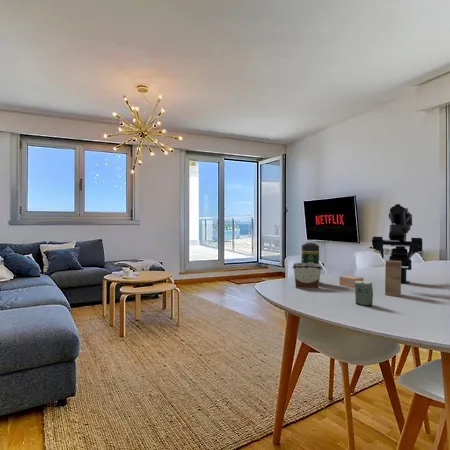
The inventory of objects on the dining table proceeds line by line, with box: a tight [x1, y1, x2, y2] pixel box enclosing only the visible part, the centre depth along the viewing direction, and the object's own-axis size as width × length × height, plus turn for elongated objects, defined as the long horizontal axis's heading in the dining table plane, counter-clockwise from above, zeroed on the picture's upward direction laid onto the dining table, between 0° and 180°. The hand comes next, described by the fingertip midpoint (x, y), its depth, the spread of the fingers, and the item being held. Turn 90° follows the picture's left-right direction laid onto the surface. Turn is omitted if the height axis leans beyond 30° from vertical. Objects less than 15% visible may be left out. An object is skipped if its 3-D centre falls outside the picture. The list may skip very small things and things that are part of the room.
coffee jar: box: [300, 242, 320, 264], centre depth 152 cm, size 10×8×19 cm
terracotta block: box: [339, 275, 365, 289], centre depth 146 cm, size 7×7×4 cm
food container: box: [291, 262, 323, 290], centre depth 142 cm, size 12×6×10 cm, turn 84°
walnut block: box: [384, 259, 402, 298], centre depth 128 cm, size 5×5×13 cm
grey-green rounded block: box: [354, 281, 374, 307], centre depth 111 cm, size 6×5×8 cm
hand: (395, 258), depth 135 cm, fingers open, 9 cm apart
